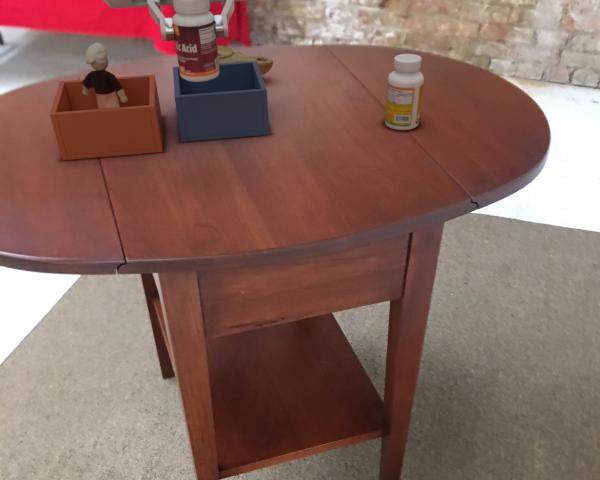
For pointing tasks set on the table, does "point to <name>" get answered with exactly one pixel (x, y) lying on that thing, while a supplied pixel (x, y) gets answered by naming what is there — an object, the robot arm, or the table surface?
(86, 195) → the table surface
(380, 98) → the table surface
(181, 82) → the slate bin
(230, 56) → the oil lamp
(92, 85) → the grandmother figurine
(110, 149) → the terracotta bin
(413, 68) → the supplement bottle
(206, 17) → the pill bottle
